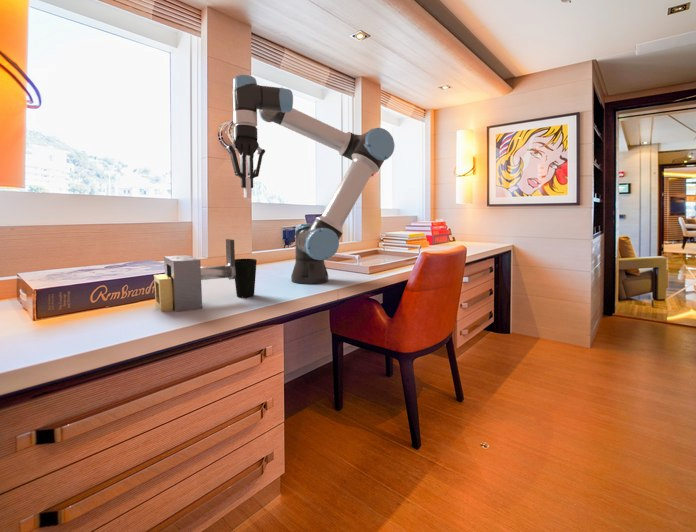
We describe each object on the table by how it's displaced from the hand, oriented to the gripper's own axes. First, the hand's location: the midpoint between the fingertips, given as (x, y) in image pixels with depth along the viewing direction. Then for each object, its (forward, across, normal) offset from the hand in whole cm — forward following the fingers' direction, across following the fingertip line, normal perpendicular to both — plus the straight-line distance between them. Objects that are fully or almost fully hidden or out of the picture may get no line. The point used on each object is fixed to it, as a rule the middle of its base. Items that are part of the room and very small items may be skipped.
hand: (247, 197), depth 128 cm
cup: (+33, +4, +8) cm, 34 cm away
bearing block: (+32, +24, +10) cm, 42 cm away
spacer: (+33, +29, +10) cm, 45 cm away
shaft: (+26, +17, +10) cm, 33 cm away
